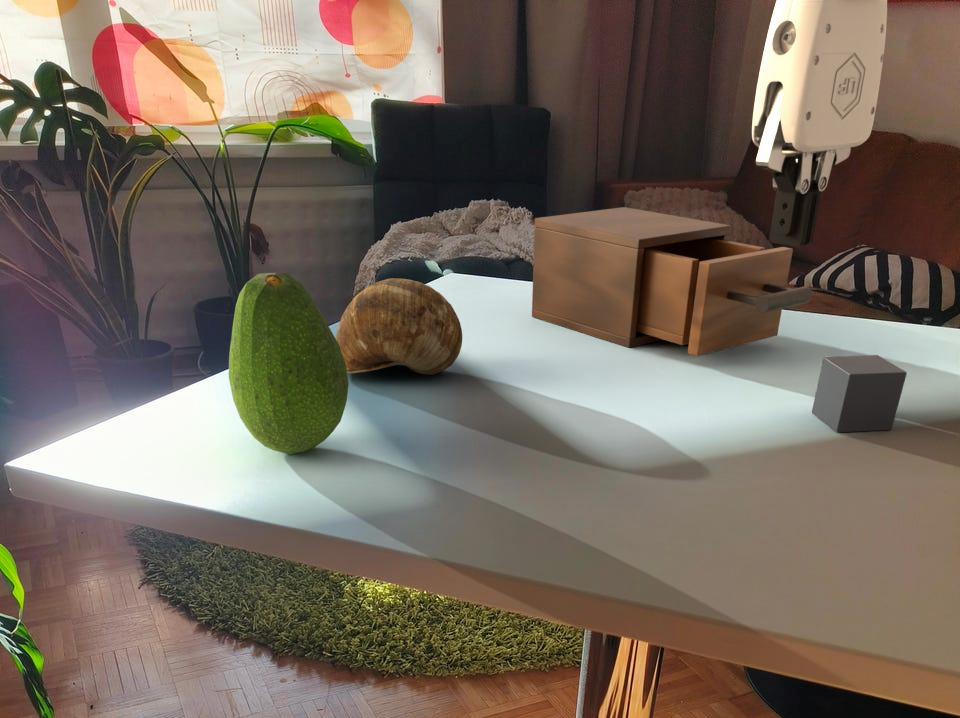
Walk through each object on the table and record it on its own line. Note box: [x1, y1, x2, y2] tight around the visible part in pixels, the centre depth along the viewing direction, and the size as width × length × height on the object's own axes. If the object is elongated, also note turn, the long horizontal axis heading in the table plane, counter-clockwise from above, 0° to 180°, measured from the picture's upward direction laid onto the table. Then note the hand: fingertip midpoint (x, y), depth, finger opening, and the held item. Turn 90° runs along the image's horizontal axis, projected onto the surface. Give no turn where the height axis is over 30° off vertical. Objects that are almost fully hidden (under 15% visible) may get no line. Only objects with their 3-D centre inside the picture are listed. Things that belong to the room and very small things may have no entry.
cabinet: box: [531, 206, 732, 348], centre depth 90 cm, size 15×13×10 cm
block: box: [811, 354, 908, 433], centre depth 67 cm, size 4×4×4 cm
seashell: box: [335, 277, 463, 376], centre depth 76 cm, size 11×9×8 cm
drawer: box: [636, 237, 813, 357], centre depth 83 cm, size 18×11×8 cm, turn 37°
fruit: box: [228, 272, 349, 455], centre depth 60 cm, size 8×8×12 cm
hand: (790, 243), depth 75 cm, fingers closed
